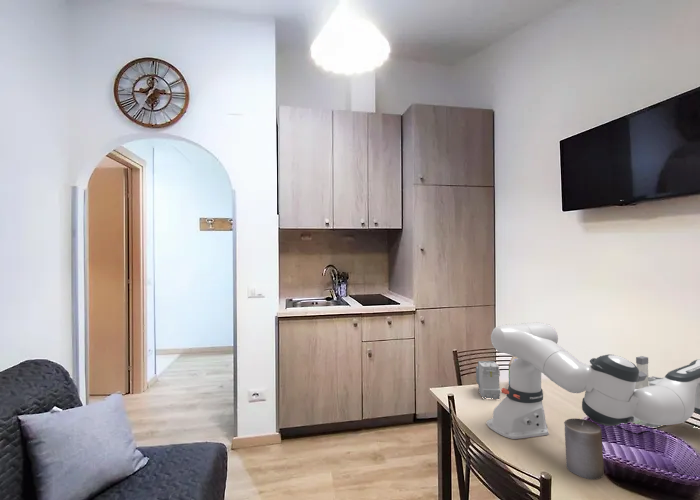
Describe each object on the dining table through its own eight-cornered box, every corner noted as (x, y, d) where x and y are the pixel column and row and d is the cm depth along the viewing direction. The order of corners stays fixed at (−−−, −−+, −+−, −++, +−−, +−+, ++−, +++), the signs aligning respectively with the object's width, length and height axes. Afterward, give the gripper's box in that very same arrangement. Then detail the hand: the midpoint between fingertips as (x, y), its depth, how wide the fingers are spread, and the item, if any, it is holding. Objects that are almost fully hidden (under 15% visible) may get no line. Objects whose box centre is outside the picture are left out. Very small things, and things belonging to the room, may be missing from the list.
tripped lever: (643, 404, 144) (642, 358, 144) (637, 402, 146) (636, 357, 146) (649, 402, 145) (648, 357, 145) (643, 400, 147) (642, 356, 147)
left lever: (618, 412, 138) (640, 376, 131) (612, 408, 140) (634, 372, 133) (624, 410, 140) (647, 375, 132) (619, 406, 142) (641, 371, 134)
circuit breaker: (491, 388, 179) (490, 357, 179) (500, 399, 165) (499, 366, 165) (475, 388, 180) (474, 357, 180) (483, 399, 166) (482, 366, 166)
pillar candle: (596, 463, 115) (593, 415, 115) (609, 481, 105) (607, 429, 106) (561, 459, 117) (559, 413, 118) (571, 478, 108) (569, 427, 108)
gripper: (677, 404, 127) (633, 390, 140) (710, 394, 135) (666, 382, 147) (676, 386, 127) (633, 374, 140) (709, 377, 135) (665, 367, 148)
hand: (650, 378), depth 144 cm, fingers closed
